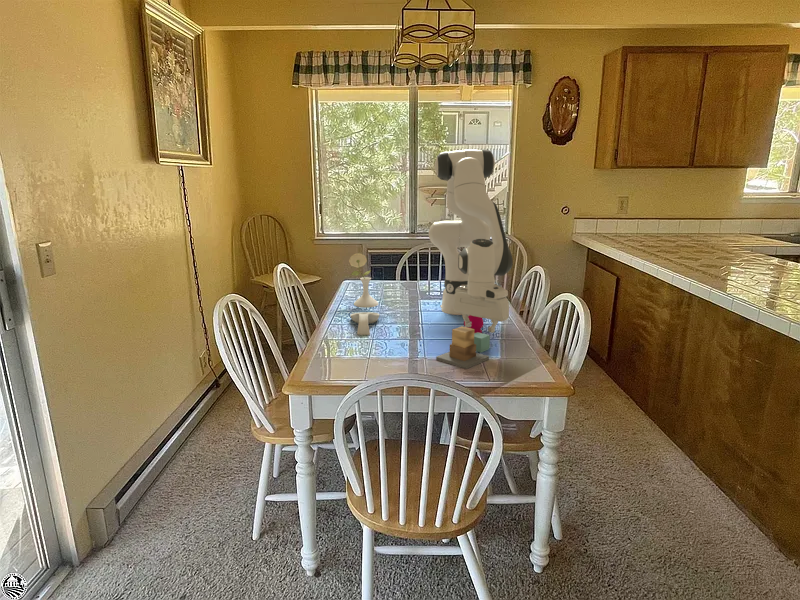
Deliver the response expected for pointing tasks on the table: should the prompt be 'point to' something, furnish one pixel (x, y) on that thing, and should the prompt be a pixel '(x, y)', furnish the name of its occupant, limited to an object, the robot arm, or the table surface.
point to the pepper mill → (475, 323)
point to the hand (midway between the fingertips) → (479, 329)
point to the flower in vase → (365, 299)
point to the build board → (461, 363)
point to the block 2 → (481, 342)
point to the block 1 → (463, 337)
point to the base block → (462, 352)
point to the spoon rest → (364, 321)
